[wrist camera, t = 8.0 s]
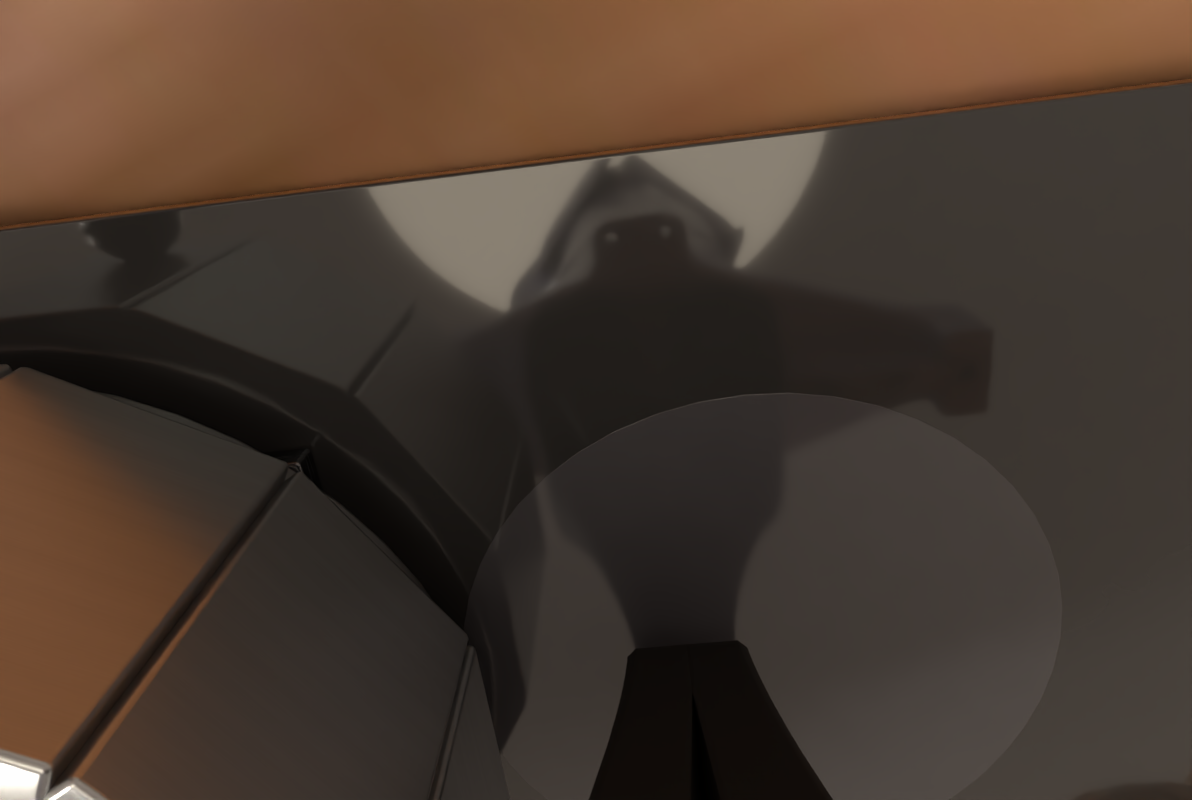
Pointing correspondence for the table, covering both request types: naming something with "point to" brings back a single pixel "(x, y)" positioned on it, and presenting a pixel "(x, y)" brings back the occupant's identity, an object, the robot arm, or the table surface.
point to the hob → (729, 421)
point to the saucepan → (211, 623)
